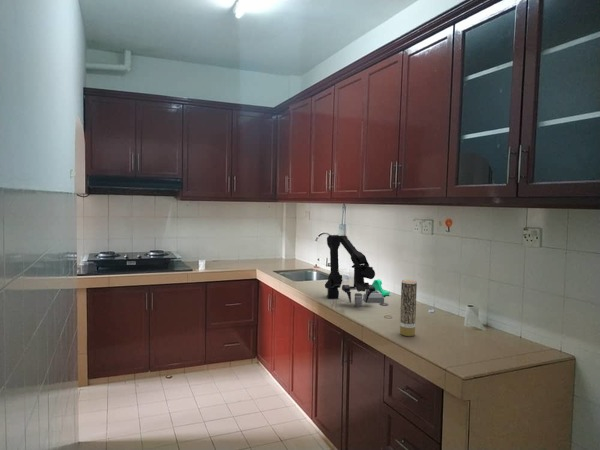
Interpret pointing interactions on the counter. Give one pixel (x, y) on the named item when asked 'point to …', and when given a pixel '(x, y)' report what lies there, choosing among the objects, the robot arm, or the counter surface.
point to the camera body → (374, 297)
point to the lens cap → (383, 304)
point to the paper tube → (408, 307)
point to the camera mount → (379, 287)
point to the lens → (358, 300)
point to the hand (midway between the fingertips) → (358, 302)
